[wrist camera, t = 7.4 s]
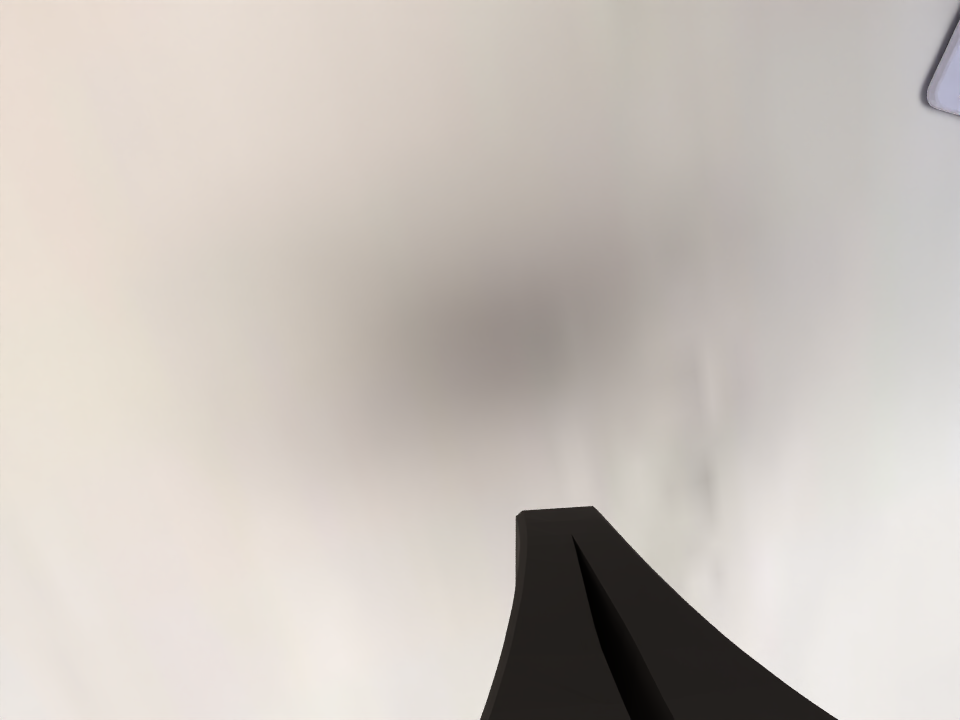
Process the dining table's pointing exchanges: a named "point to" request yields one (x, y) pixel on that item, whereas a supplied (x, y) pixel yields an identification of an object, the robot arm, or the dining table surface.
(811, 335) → the dining table surface
